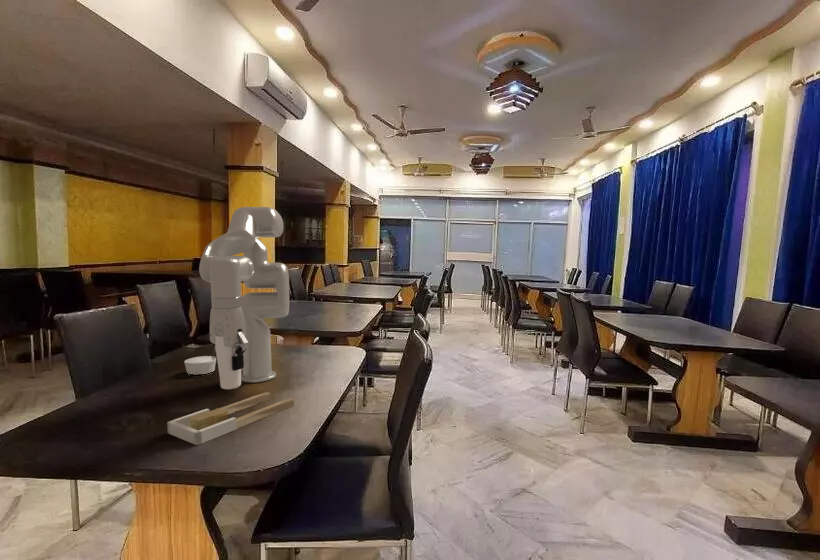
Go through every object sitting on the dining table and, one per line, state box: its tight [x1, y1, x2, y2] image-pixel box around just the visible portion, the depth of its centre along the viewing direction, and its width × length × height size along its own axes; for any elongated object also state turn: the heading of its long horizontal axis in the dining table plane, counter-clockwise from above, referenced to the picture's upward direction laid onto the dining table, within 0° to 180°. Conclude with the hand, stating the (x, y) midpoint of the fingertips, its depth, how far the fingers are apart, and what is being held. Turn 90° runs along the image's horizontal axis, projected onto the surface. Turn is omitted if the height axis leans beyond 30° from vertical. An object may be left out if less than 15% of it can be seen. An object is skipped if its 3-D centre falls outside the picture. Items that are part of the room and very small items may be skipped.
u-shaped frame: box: [166, 408, 238, 446], centre depth 113 cm, size 13×11×3 cm
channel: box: [218, 391, 295, 429], centre depth 126 cm, size 13×20×2 cm, turn 147°
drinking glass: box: [215, 335, 242, 390], centre depth 120 cm, size 7×7×15 cm
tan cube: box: [189, 413, 213, 430], centre depth 113 cm, size 4×4×4 cm
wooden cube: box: [206, 407, 229, 425], centre depth 116 cm, size 4×4×4 cm
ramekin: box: [183, 355, 216, 375], centre depth 168 cm, size 11×11×5 cm
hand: (230, 366), depth 120 cm, fingers closed on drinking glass, 6 cm apart
